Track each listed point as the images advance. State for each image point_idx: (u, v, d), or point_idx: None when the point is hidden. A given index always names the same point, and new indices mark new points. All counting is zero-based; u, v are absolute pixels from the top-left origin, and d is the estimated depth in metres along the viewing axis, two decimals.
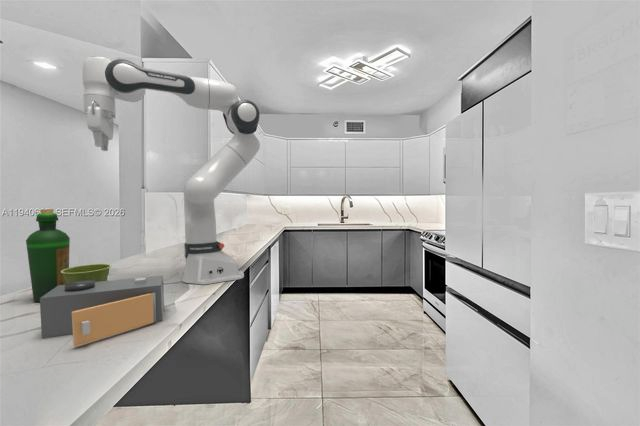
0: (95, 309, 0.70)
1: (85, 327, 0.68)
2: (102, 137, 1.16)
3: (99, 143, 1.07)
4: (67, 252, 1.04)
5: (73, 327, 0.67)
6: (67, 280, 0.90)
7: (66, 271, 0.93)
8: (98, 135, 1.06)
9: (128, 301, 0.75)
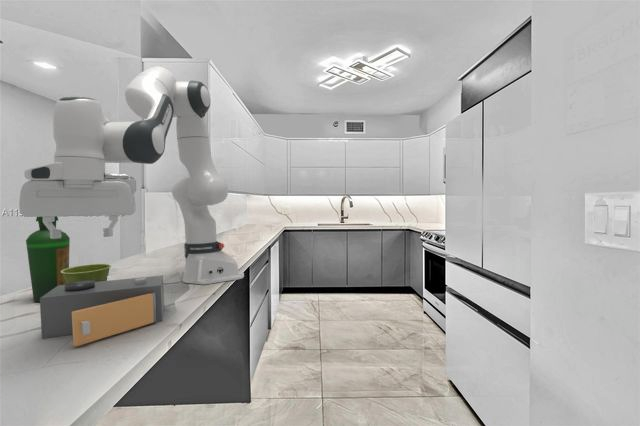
0: (95, 309, 0.70)
1: (85, 327, 0.68)
2: (52, 216, 0.69)
3: (112, 231, 0.74)
4: (67, 252, 1.04)
5: (73, 327, 0.67)
6: (67, 280, 0.90)
7: (66, 271, 0.93)
8: (116, 221, 0.74)
9: (128, 301, 0.75)
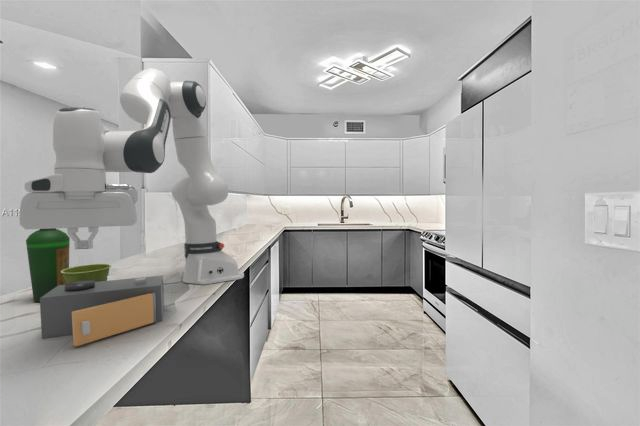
0: (95, 309, 0.70)
1: (85, 327, 0.68)
2: None
3: (92, 243, 0.72)
4: (67, 252, 1.04)
5: (73, 327, 0.67)
6: (67, 280, 0.90)
7: (66, 271, 0.93)
8: (97, 232, 0.72)
9: (128, 301, 0.75)
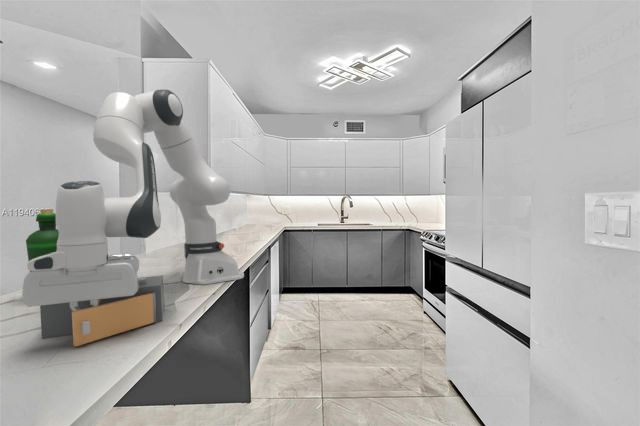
0: (95, 309, 0.70)
1: (85, 327, 0.68)
2: None
3: None
4: None
5: (73, 327, 0.67)
6: None
7: None
8: (98, 303, 0.72)
9: (128, 301, 0.75)
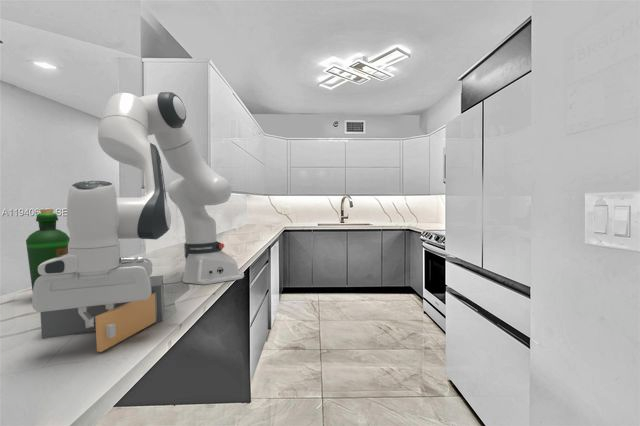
0: (115, 312, 0.68)
1: (112, 330, 0.66)
2: None
3: None
4: (67, 252, 1.04)
5: (98, 332, 0.65)
6: None
7: None
8: (113, 307, 0.70)
9: (138, 301, 0.75)
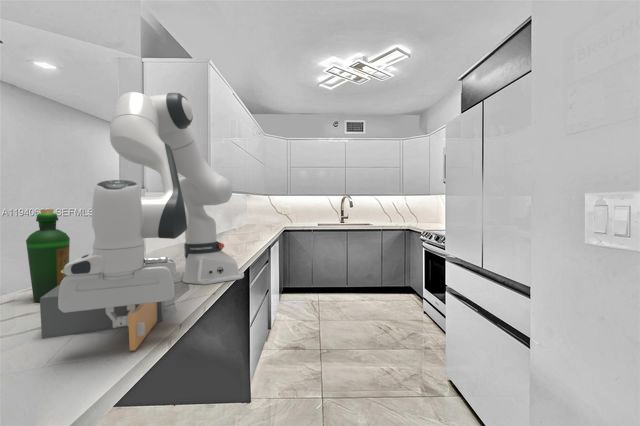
0: (140, 310, 0.69)
1: (143, 328, 0.67)
2: None
3: None
4: (67, 252, 1.04)
5: (132, 331, 0.65)
6: None
7: None
8: (134, 308, 0.69)
9: None
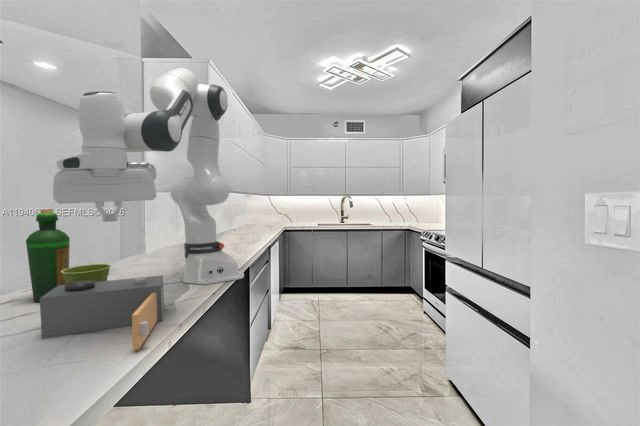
0: (142, 310, 0.69)
1: (146, 327, 0.67)
2: (103, 201, 0.77)
3: (117, 216, 0.79)
4: (67, 252, 1.04)
5: (135, 330, 0.65)
6: (67, 280, 0.90)
7: (66, 271, 0.93)
8: (121, 206, 0.79)
9: (150, 300, 0.75)
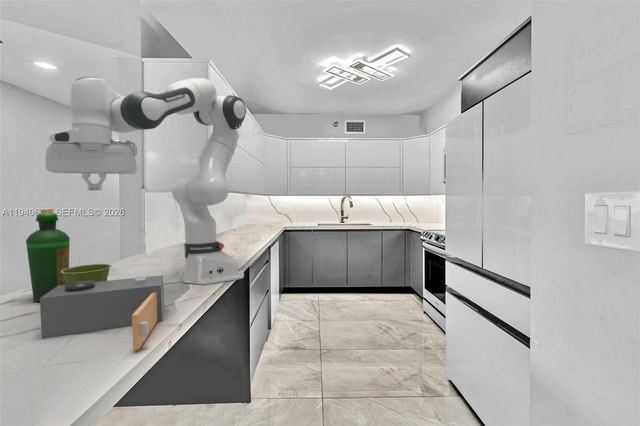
0: (142, 310, 0.69)
1: (146, 327, 0.67)
2: (89, 172, 0.88)
3: (101, 187, 0.90)
4: (67, 252, 1.04)
5: (135, 330, 0.65)
6: (67, 280, 0.90)
7: (66, 271, 0.93)
8: (105, 178, 0.90)
9: (150, 300, 0.75)
